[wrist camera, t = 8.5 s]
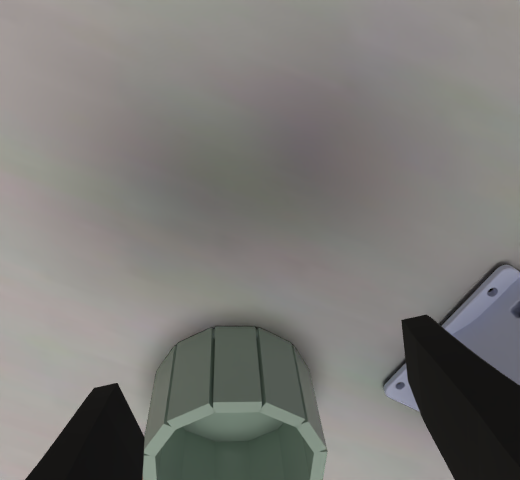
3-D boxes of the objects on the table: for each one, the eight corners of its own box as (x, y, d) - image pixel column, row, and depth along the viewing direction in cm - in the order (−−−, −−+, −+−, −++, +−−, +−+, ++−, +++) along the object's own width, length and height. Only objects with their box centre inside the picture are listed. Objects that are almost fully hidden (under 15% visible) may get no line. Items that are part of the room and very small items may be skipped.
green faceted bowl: (205, 301, 23) (200, 374, 19) (338, 365, 26) (362, 443, 21) (130, 408, 26) (110, 493, 22) (256, 457, 29) (261, 542, 24)
